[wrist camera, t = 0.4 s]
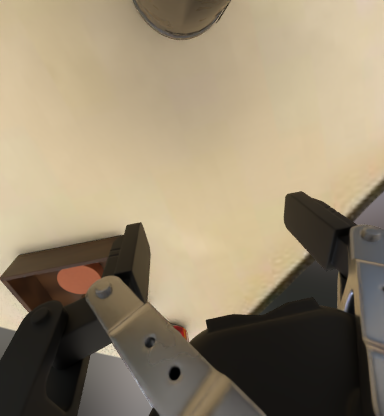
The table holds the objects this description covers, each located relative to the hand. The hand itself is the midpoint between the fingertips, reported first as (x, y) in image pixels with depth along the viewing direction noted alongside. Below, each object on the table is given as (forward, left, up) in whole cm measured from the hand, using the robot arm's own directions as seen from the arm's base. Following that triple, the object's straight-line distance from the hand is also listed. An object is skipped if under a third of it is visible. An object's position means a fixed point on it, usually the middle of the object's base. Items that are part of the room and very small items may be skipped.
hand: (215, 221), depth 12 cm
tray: (+20, -19, -17) cm, 32 cm away
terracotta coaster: (+16, -19, -17) cm, 30 cm away
